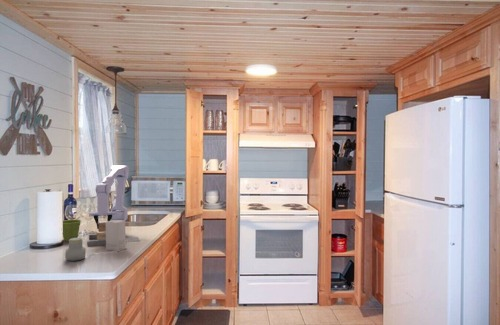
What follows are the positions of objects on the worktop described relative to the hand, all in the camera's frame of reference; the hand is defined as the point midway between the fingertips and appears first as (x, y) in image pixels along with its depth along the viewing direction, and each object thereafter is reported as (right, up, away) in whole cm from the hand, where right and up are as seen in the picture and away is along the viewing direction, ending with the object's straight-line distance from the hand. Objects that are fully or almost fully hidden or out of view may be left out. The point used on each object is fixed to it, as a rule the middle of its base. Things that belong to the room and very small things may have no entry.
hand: (102, 228), depth 209 cm
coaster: (+12, -9, +10) cm, 18 cm away
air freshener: (-1, -10, -31) cm, 32 cm away
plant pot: (-22, -9, +8) cm, 25 cm away
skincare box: (+12, -10, -12) cm, 19 cm away
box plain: (-4, -8, +7) cm, 11 cm away
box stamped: (0, -1, 0) cm, 1 cm away
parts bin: (-2, -9, +3) cm, 10 cm away
